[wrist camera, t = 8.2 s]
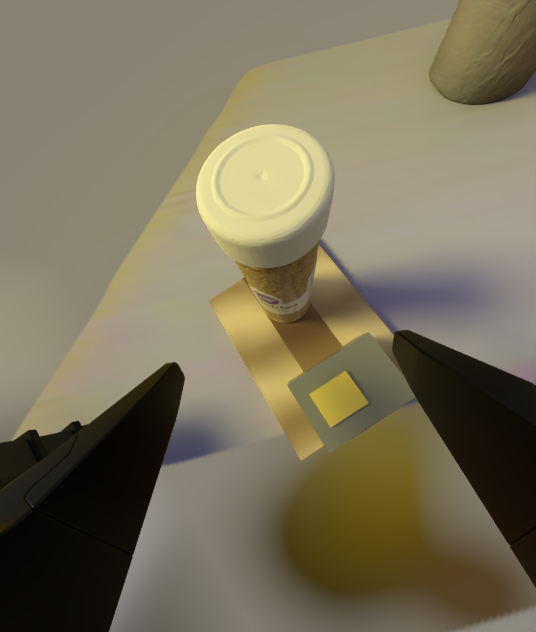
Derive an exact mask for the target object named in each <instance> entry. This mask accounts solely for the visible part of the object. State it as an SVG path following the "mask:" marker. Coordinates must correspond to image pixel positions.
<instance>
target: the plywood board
mask: <svg viewBox="0 0 536 632" xmlns="http://www.w3.org/2000/svg"><path fill="white" fill-rule="evenodd" d="M209 302H210V303H211V305H212V307H213V309H214V310H215V312H216V314H217V316H218V317H219V319H220V321H221V322H222V324H223V326H224V328H225V329H226V331H227V333H228V335H229V336H230V338H231V340H232V342H233V343H234V345H235V347H236V349H237V350H238V352H239V354H240V355H241V357H242V359H243V361H244V362H245V364H246V366H247V368H248V369H249V371H250V373H251V375H252V376H253V378H254V380H255V381H256V383H257V385H258V387H259V388H260V390H261V392H262V394H263V395H264V397H265V399H266V401H267V402H268V404H269V406H270V407H271V409H272V411H273V413H274V414H275V416H276V418H277V420H278V421H279V423H280V425H281V427H282V428H283V430H284V432H285V434H286V435H287V437H288V439H289V440H290V442H291V444H292V445H293V447H294V449H295V451H296V452H297V454H298V456H299V458H300V459H301V460H303V459H304V458H306V457H307V456H309V455H310V454H312V453H313V452H315V451H317V450H318V449H320V448H321V447H323V446H324V444H323V443H322V441H321V440H320V438H319V436H318V435H317V433H316V431H315V430H314V428H313V427H312V425H311V423H310V422H309V420H308V418H307V417H306V415H305V414H304V412H303V410H302V409H301V407H300V406H299V404H298V402H297V401H296V399H295V397H294V396H293V394H292V393H291V391H290V389H289V388H288V386H287V384H288V382H289V381H290V380H292V379H293V378H295V377H297V376H298V375H300V374H301V373H303V372H304V371H306V370H307V369H309V368H310V367H312V366H313V365H315V364H316V363H318V362H319V361H321V360H323V359H324V358H326V357H327V356H329V355H330V354H332V353H333V352H335V351H336V350H338V349H339V348H341V347H342V346H344V345H346V344H347V343H349V342H350V341H352V340H353V339H355V338H356V337H358V336H360V335H363V334H365V333H367V332H369V333H370V334H371V336H372V337H373V338H374V339H375V341H376V342H377V343H378V344H379V346H380V347H381V348H382V349H383V351H384V352H385V353H386V355H387V356H388V357H389V358H390V360H391V361H392V362H393V363H394V365H395V366H396V367H397V368H398V370H399V371H400V372H401V374H402V375H403V373H402V371H401V368H400V366H399V364H398V362H397V360H396V358H395V356H394V354H393V351H392V345H393V338H394V335H393V334H392V333H391V331H390V330H389V329H388V328H387V327H386V325H385V324H384V323H383V322H382V321H381V319H380V318H379V317H378V316H377V314H376V313H375V312H374V311H373V310H372V308H371V307H370V306H369V305H368V304H367V302H366V301H365V300H364V299H363V297H362V296H361V295H360V294H359V293H358V291H357V290H356V289H355V288H354V286H353V285H352V284H351V283H350V282H349V280H348V279H347V278H346V277H345V276H344V274H343V273H342V272H341V271H340V269H339V268H338V267H337V266H336V265H335V263H334V262H333V261H332V260H331V259H330V257H329V256H328V255H327V254H326V252H325V251H324V250H323V249H322V248H321V246H320V245H319V246H318V251H317V263H316V268H315V274H314V279H313V285H312V291H311V295H310V305H309V307H308V309H307V311H306V313H305V314H304V315H303V316H302V317H301V318H299V319H298V320H296V321H293V322H289V323H281V322H277V321H274V320H273V319H271V318H270V317H269V316H268V315H267V314H266V313H265V312H264V310H263V308H262V305H261V304H260V302H259V301H258V299H257V298H256V296H255V295H254V293H253V291H252V290H251V288H250V286H249V284H248V281H247V280H246V278H243V279H241V280H240V281H238V282H237V283H235V284H234V285H232V286H231V287H229V288H228V289H226V290H225V291H223V292H222V293H220V294H219V295H217V296H216V297H214V298H213V299H211V300H210V301H209ZM403 376H404V375H403Z"/></svg>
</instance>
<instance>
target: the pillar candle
mask: <svg viewBox="0 0 536 632" xmlns="http://www.w3.org/2000/svg"><path fill="white" fill-rule="evenodd" d="M535 71H536V0H460V1H459V3H458V5H457V8H456V10H455V12H454V15H453V17H452V19H451V22H450V24H449V26H448V28H447V31H446V33H445V36H444V38H443V40H442V43H441V45H440V47H439V49H438V51H437V54H436V56H435V59H434V61H433V64H432V66H431V69H430V74H429V76H430V79H431V81H432V82H433V83H434V85H435V86H436V87H437V89H438V90H439V91H440V92H441V94H442V95H443V96H445V97H446V98H448V99H450V100H452V101H456V102H459V103H467V104H484V103H489V102H494V101H498V100H500V99H503V98H505V97H507V96H509V95H511V94H513V93H515V92H516V91H518V90H519V89H521V88H522V87H523V86H524V85H525V84H526V82H527V81H528V80H529V78H530V77H531V76H532V75H533V74H534V72H535Z"/></svg>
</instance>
